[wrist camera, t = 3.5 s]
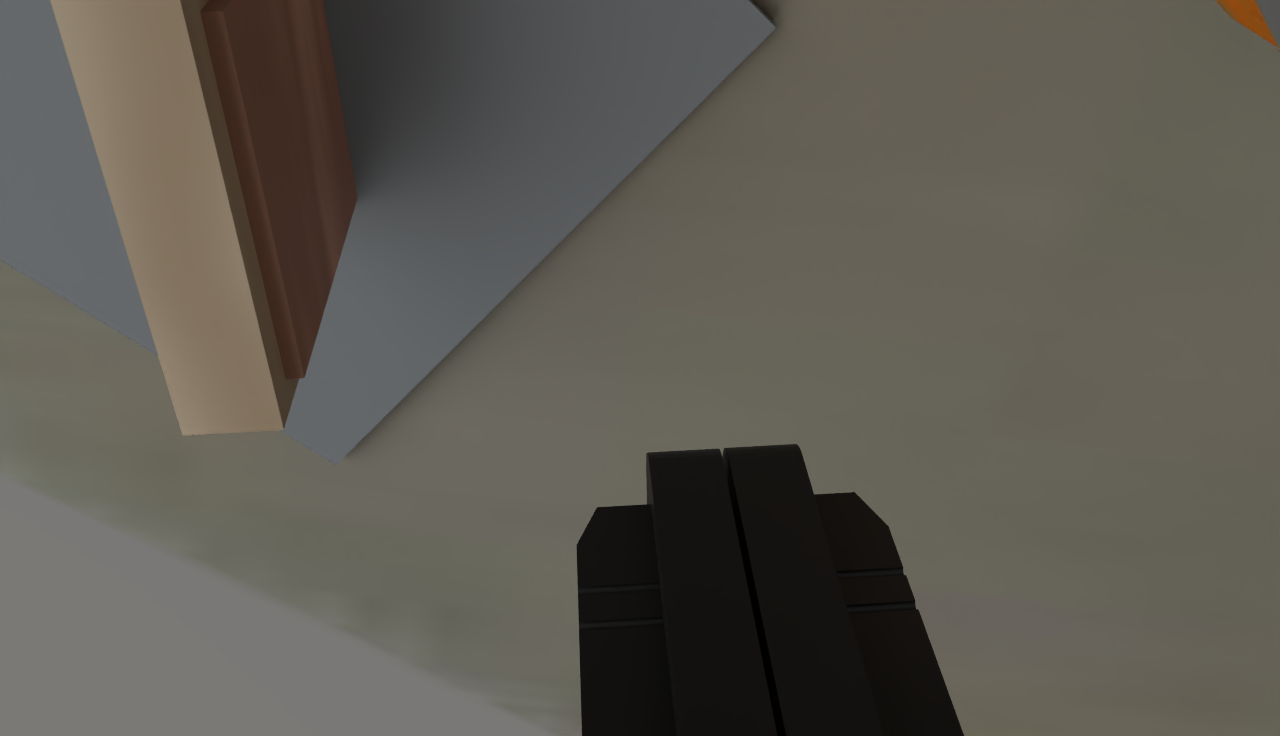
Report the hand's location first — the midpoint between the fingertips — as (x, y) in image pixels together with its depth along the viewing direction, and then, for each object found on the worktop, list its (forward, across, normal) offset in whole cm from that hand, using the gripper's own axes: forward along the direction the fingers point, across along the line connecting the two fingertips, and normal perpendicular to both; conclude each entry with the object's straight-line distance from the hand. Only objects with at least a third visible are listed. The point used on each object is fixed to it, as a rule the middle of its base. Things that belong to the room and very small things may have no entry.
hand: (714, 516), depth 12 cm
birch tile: (+14, +7, 0) cm, 16 cm away
